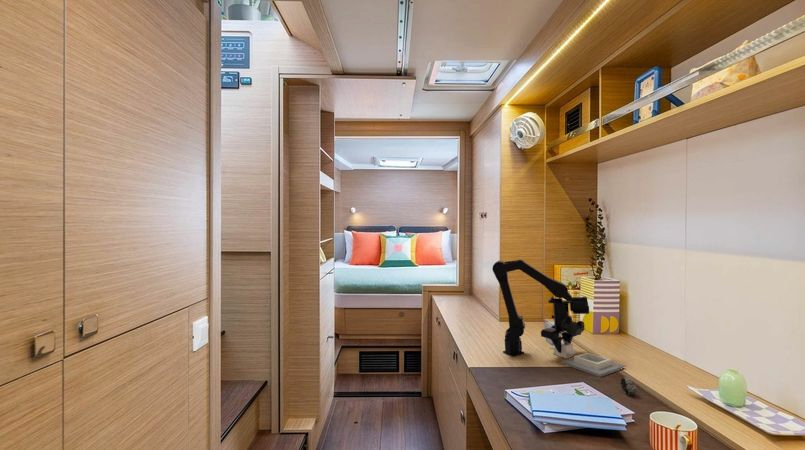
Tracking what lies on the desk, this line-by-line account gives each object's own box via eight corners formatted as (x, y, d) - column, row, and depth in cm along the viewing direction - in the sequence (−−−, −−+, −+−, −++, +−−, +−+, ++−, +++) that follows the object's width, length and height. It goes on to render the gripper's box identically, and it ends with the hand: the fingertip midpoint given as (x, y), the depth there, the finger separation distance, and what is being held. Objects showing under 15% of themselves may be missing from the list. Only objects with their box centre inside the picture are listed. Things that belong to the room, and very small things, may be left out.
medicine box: (561, 345, 169) (560, 325, 169) (551, 345, 169) (550, 326, 170) (555, 339, 177) (554, 321, 177) (545, 340, 177) (544, 321, 177)
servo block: (570, 359, 151) (569, 344, 151) (550, 353, 160) (549, 338, 160) (577, 357, 153) (576, 342, 153) (557, 351, 162) (556, 337, 162)
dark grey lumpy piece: (623, 397, 120) (630, 390, 117) (618, 382, 124) (624, 374, 120) (633, 398, 120) (640, 391, 116) (627, 382, 124) (634, 375, 120)
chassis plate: (600, 377, 133) (599, 368, 133) (562, 363, 147) (561, 355, 147) (625, 368, 139) (624, 360, 140) (586, 356, 154) (586, 348, 154)
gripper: (561, 320, 145) (563, 362, 145) (593, 313, 154) (596, 352, 153) (538, 315, 155) (541, 354, 155) (570, 308, 163) (572, 345, 163)
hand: (563, 351), depth 156 cm, fingers closed on servo block, 4 cm apart
